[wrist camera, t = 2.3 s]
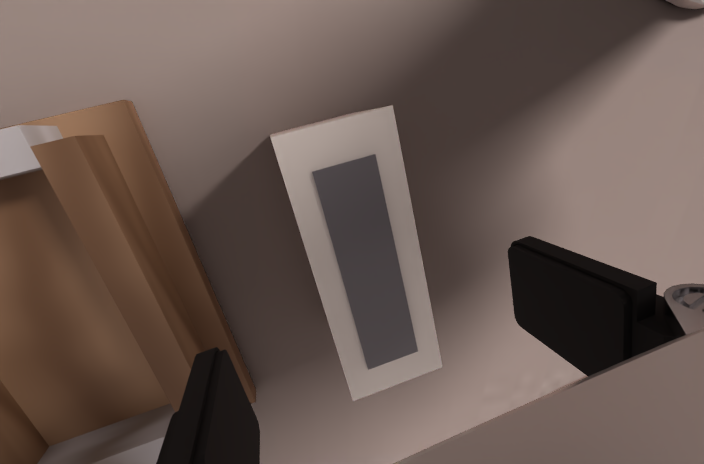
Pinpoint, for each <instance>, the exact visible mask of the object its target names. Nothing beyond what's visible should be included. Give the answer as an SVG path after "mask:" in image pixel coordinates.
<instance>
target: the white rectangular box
mask: <svg viewBox="0 0 704 464" xmlns="http://www.w3.org/2000/svg"><path fill="white" fill-rule="evenodd" d="M270 138H271V141H272V144H273V147H274V151H275V154H276V157H277V160H278V163H279V167H280V170H281V173H282V176H283V179H284V183H285V186H286V189H287V192H288V195H289V199H290V202H291V205H292V208H293V211H294V215H295V218H296V221H297V224H298V227H299V230H300V234H301V237H302V240H303V243H304V246H305V250H306V253H307V256H308V259H309V262H310V266H311V269H312V272H313V275H314V278H315V282H316V285H317V288H318V291H319V294H320V298H321V301H322V304H323V307H324V310H325V314H326V317H327V320H328V323H329V326H330V330H331V333H332V336H333V339H334V342H335V346H336V349H337V352H338V355H339V358H340V362H341V365H342V368H343V371H344V374H345V377H346V381H347V384H348V387H349V390H350V393H351V397H352V400H353V401H356V400H358V399H361V398H363V397H366V396H369V395H371V394H374V393H377V392H379V391H382V390H384V389H387V388H390V387H392V386H395V385H397V384H400V383H403V382H405V381H408V380H411V379H413V378H416V377H418V376H421V375H424V374H426V373H429V372H431V371H434V370H437V369H439V368H442V367H443V366H442V361H441V355H440V350H439V345H438V340H437V334H436V329H435V324H434V319H433V314H432V308H431V303H430V298H429V293H428V287H427V282H426V277H425V272H424V266H423V261H422V256H421V251H420V245H419V240H418V235H417V230H416V225H415V219H414V214H413V209H412V204H411V198H410V193H409V188H408V183H407V177H406V172H405V167H404V162H403V156H402V151H401V146H400V141H399V136H398V130H397V125H396V120H395V115H394V109H393V105H391V106H386V107H381V108H376V109H371V110H366V111H360V112H355V113H350V114H347V115H343V116H339V117H335V118H331V119H327V120H324V121H320V122H316V123H312V124H308V125H304V126H301V127H297V128H293V129H289V130H285V131H281V132H278V133H274V134H270Z"/></svg>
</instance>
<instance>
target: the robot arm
mask: <svg viewBox="0 0 704 464" xmlns="http://www.w3.org/2000/svg"><path fill="white" fill-rule="evenodd" d="M666 1H668V2H670V3H672V4H674V5H676V6H678V7H683V8H689V9H700V8H704V0H666ZM508 259H509V268H510V277H511V286H512V296H513V305H514V314H515V319H516V321H517V323H518V324H519V326H521V327H522V328H523V329H524V330H526V331H527V332H528V333H530V334H531V335H533V336H534V337H535V338H537V339H538V340H539V341H541V342H542V343H543V344H545V345H546V346H548V347H549V348H550V349H552V350H553V351H554V352H556V353H557V354H558V355H560V356H561V357H563V358H564V359H565V360H567V361H568V362H569V363H571V364H572V365H573V366H575V367H576V368H577V369H579V370H580V371H582V372H583V373H584V374H586V375H587V376H588V377H586V378H584V379H582V380H579V381H577V382H575V383H572V384H570V385H568V386H566V387H563V388H561V389H559V390H556V391H554V392H552V393H550V394H547V395H545V396H543V397H541V398H538V399H536V400H534V401H532V402H529V403H527V404H525V405H523V406H520V407H518V408H516V409H514V410H511V411H509V412H507V413H505V414H502V415H500V416H498V417H496V418H493V419H491V420H489V421H487V422H485V423H482V424H480V425H478V426H476V427H473V428H471V429H469V430H467V431H464V432H462V433H460V434H458V435H455V436H453V437H451V438H449V439H447V440H444V441H442V442H440V443H438V444H435V445H433V446H431V447H429V448H427V449H424V450H422V451H420V452H418V453H416V454H413V455H411V456H409V457H407V458H405V459H402V460H400V461H398V462H396V463H394V464H704V284H680V285H676V286H672V287H670V288H668V289H666V291H665V292H664V297H662V296H659V295H657V294H656V285H657V283H656V282H653V281H650V280H648V279H645V278H642V277H640V276H637V275H634V274H631V273H629V272H626V271H623V270H621V269H618V268H615V267H613V266H610V265H607V264H604V263H602V262H599V261H596V260H594V259H591V258H588V257H586V256H583V255H580V254H577V253H575V252H572V251H569V250H567V249H564V248H561V247H559V246H556V245H553V244H550V243H548V242H545V241H542V240H540V239H537V238H534V237H531V236H528V237H525V238H522V239H520V240H517V241H514V242H512V244H511V247H510V248H509V249H508ZM259 455H260V430H259V424H258V420H257V418H256V415H255V413H254V411H253V409H252V406H251V404H250V402H249V399H248V397H247V395H246V393H245V390H244V388H243V386H242V384H241V381H240V379H239V377H238V374H237V372H236V370H235V368H234V365H233V363H232V361H231V358H230V356H229V354H228V352H227V350H225V349H224V350H222V351H220V350H219V348H217V347H215V348H212V349H209V350H207V351H204V352H201V353H198V354H196V356H195V358H194V362H193V365H192V368H191V372H190V375H189V378H188V381H187V385H186V388H185V391H184V395H183V398H182V401H181V404H180V408H179V411H177V412H175V413H174V414H173V415H172V417H171V419H170V422H169V426H168V429H167V432H166V435H165V438H164V441H163V444H162V447H161V450H160V453H159V457H158V460H157V463H156V464H259Z"/></svg>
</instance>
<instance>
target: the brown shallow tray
mask: <svg viewBox="0 0 704 464" xmlns="http://www.w3.org/2000/svg"><path fill="white" fill-rule="evenodd" d="M215 347H217V348H219V350H220V351H222V350H224V349H225V350H227V352H228V354H229V356H230V358H231V361H232V363H233V365H234V368H235V370H236V372H237V374H238V377H239V379H240V381H241V384H242V386H243V388H244V390H245V393H246V395H247V397H248V399H249V402H250V404H251V403H254V402H256V389H255V387H254V384H253V382H252V380H251V377H250V375H249V373H248V370H247V368H246V366H245V363H244V361H243V359H242V356H241V354H240V352H239V349H238V347H237V345H236V342H235V340H234V338H233V336H232V333H231V331H230V329H229V326H228V324H227V322H226V319H225V317H224V315H223V312H222V310H221V308H220V305H219V303H218V301H217V298H216V296H215V294H214V291H213V289H212V287H211V284H210V282H209V280H208V277H207V275H206V273H205V270H204V268H203V266H202V263H201V261H200V259H199V256H198V254H197V252H196V250H195V247H194V245H193V243H192V240H191V238H190V236H189V233H188V231H187V229H186V226H185V224H184V222H183V219H182V217H181V215H180V212H179V210H178V208H177V205H176V203H175V201H174V198H173V196H172V194H171V191H170V189H169V187H168V184H167V182H166V180H165V177H164V175H163V173H162V170H161V168H160V166H159V163H158V161H157V159H156V157H155V154H154V152H153V150H152V147H151V145H150V143H149V140H148V138H147V136H146V133H145V131H144V129H143V126H142V124H141V122H140V119H139V117H138V115H137V112H136V110H135V108H134V105H133V103H132V101H127V100H121V101H116V102H112V103H108V104H104V105H99V106H95V107H91V108H86V109H82V110H78V111H74V112H69V113H65V114H61V115H56V116H52V117H48V118H43V119H39V120H35V121H31V122H26V123H22V124H18V125H13V126H9V127H5V128H1V129H0V464H156V463H157V460H158V457H159V453H160V450H161V447H162V444H163V441H164V438H165V435H166V432H167V429H168V426H169V422H170V419H171V417H172V415H173V414H174V413H175V412H177V411H179V408H180V404H181V401H182V398H183V395H184V391H185V388H186V385H187V381H188V378H189V375H190V372H191V368H192V365H193V362H194V358H195V356H196V354H198V353H201V352H204V351H207V350H209V349H212V348H215Z"/></svg>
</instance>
